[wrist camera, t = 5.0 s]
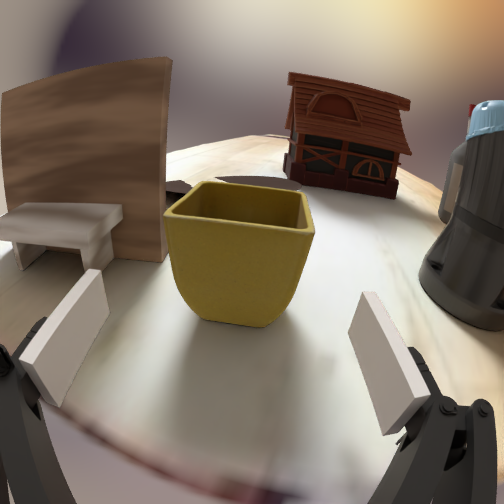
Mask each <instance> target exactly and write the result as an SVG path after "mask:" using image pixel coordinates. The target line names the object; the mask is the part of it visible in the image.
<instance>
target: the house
mask: <svg viewBox="0 0 504 504" xmlns="http://www.w3.org/2000/svg"><path fill="white" fill-rule="evenodd" d="M287 85H291V86H293V87H292V94H291V99H290V105H289V111H288V115H287V120H286V124H285V129H290V130H291V134H290V139H289V138H288V141H289V142H290V143H289V152H288V153H285V155H284V164H283V172H285V173H286V175H287V178H288V179H289V180H293V181H296V182H298V183H300V184H301V185H305V186H313V187H320V188H327V189H334V190H341V191H347V192H354V193H360V194H366V195H372V196H377V197H384V198H388V199H395V198H396V194H397V189H398V185H399V181H398V180H397V179H395V177H396V171H397V166H398V165H401V163H399V162H398V161H399V155H400V153H403V154H406V155H410V156H411V155H412V152H411V151H410V148H409V146H408V143H407V142H406V138H405V135H404V132H403V128H402V123H401V118H400V112H399V110H403V111H409V110H410V102H411V101H410V100H409V99H406V98H403V97H400V96H397V95H394V94H391V93H388V92H383V91H380V90H376V89H373V88H369V87H366V86H362V85H358V84H354V83H348V82H343V81H339V80H334V79H329V78H324V77H319V76H312V75H307V74H301V73H294V72H289V75H288V84H287Z"/></svg>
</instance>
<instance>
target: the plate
mask: <svg viewBox="0 0 504 504" xmlns="http://www.w3.org/2000/svg"><path fill="white" fill-rule="evenodd" d="M215 178H217V179H220V180H223V181H225V182H228V183H234V184H243V185H252V186H261V187H269V188H277V189H285V190H292V191H296V190H298V189H300V188H301V187H302V185H301V184H300V183H298V182H296V181H293V180H289V179H284V178H277V177H266V176H226V177H215ZM192 188H193V187H191V185H189V184H187V183H185V182H184V181H181V180H177V181H169V182H166V191H171V192H177V193H182V194H187V193H188V192H189V191H190V190H191V189H192Z"/></svg>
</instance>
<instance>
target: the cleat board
mask: <svg viewBox="0 0 504 504" xmlns="http://www.w3.org/2000/svg"><path fill="white" fill-rule="evenodd" d="M172 62H173V61H172V60H171V59H169V58H168V57H155V58H144V59H136V60H127V61H120V62H113V63H107V64H102V65H96V66H91V67H86V68H82V69H77V70H73V71H69V72H65V73H61V74H57V75H54V76H50V77H47V78H43V79H40V80H37V81H34V82H31V83H28V84H25V85H22V86H19V87H17V88H14V89H12V90H9V91H6V92H4V93H2V103H1V154H2V169H3V178H4V188H5V196H6V202H7V209H8V213H6V214H5V215H3V216H1V217H0V240H2V241H10V242H12V246H13V250H14V254H15V257H16V261H17V265H18V268H19V270H25V269H26V268H27V267H28V266H29V265H30V264H31V263H32V262H33V261H35V260H36V259H37V258H38V257H39V256H40V255H42V254H43V253H44V252H45V251H46V250H50V251H58V252H67V253H75V254H81V257H82V262H83V267H84V272H85V273H86V271H87V270H88V269H95V270H101V273H102V271H103V270H104V269H105V268H106V267H107V265H108V264H109V263H110V262H111V261H112V259H113V258H121V259H131V260H141V261H151V262H161V263H162V262H163V260H164V258H165V257H166V255H167V253H168V252H169V251H168V245H167V240H166V234H165V227H164V221H163V214H164V213H165V211H166V143H167V123H168V122H167V121H168V107H169V93H170V81H171V71H172Z"/></svg>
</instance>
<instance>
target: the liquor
mask: <svg viewBox="0 0 504 504" xmlns="http://www.w3.org/2000/svg"><path fill="white" fill-rule="evenodd" d="M475 107H476V105H472V104H471V105H470V107H469V122H468V130H467V135H468V133H469V127H470V122H471V116H472V112H473V110H474V108H475ZM466 148H467V142H466V138H465V142H464V143H462V144H461V145H460V146H459V147H457V148H456V149H455V150H454V151H453V152H452V154H451V156H450V162H449V167H448V173H447V177H446V181H445V186H444V190H443V194H442V198H441V202H440V206H439V210H438V214H439V217H440V219H441V221H443V222H445V223H446V224H448V222H449V220H450V218H451V215H452V212H453V208H454V204H455V200H456V196H457V192H458V188H459V184H460V180H461V175H462V170H463V165H464V160H465V154H466Z"/></svg>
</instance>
